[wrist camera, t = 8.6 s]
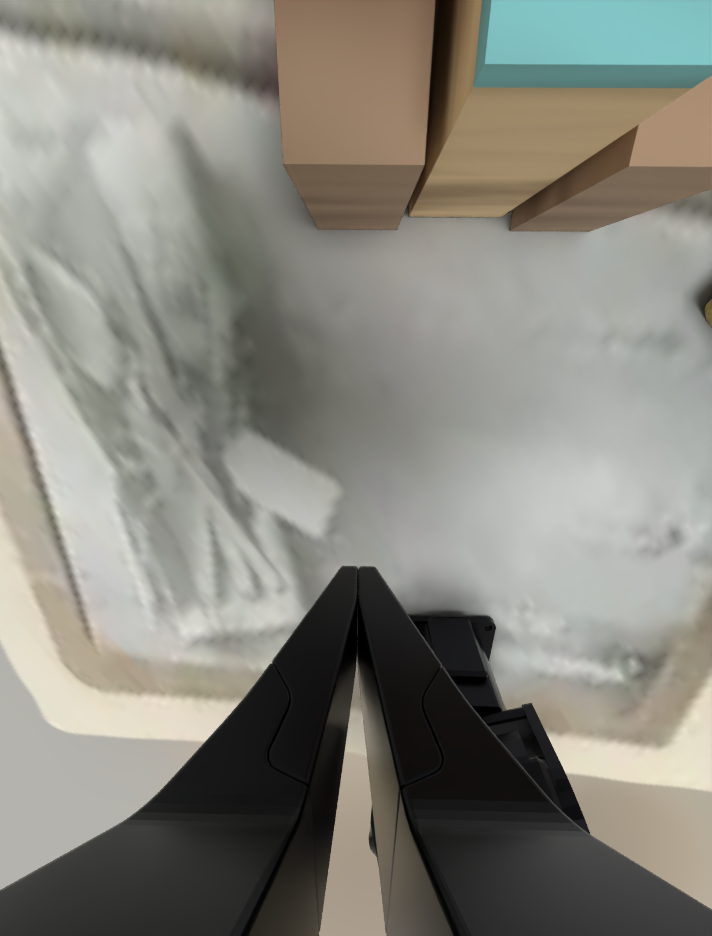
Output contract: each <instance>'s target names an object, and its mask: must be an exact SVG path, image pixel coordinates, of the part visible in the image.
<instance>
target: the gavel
mask: <svg viewBox="0 0 712 936" xmlns="http://www.w3.org/2000/svg"><path fill="white" fill-rule="evenodd" d="M704 311H705V317H706V321H707V322H708V324H709V325H710V326H711V327H712V299H711V300H710V301H709V302H708V303H707V304H706V307H705V309H704Z"/></svg>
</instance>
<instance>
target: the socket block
mask: <svg viewBox="0 0 712 936" xmlns="http://www.w3.org/2000/svg"><path fill="white" fill-rule="evenodd" d="M274 8H275V26H276V45H277V63H278V82H279V100H280V119H281V137H282V156H283V165H284V167H285V169H286V171H287V172H288V174H289V176H290V178H291V180H292V182H293V184H294V185H295V187H296V189H297V191H298V193H299V195H300V196H301V198H302V200H303V202H304V204H305V206H306V208H307V209H308V211H309V213H310V215H311V217H312V219H313V220H314V222H315V224H316V226H317V228H318V229H343V230H397V228H398V226H399V224H400V221H401V219H402V217H403V214H404V212H405V210H406V207H407V205H408V203H409V200H410V198H411V195H412V193H413V191H414V188H415V186H416V184H417V181H418V179H419V177H420V174H421V172H422V170H423V167H424V165H425V150H426V135H427V120H428V105H429V90H430V75H431V60H432V44H433V29H434V14H435V0H274ZM709 189H712V75H711V76H710V77H708V78H707V79H705V80H704V81H702V82H701V83H699V84H698V85H696V86H695V87H693V88H692V89H690V90H689V91H687V92H686V93H685V94H683V95H682V96H680V97H679V98H677V99H676V100H674V101H673V102H671V103H670V104H668V105H667V106H665V107H664V108H662V109H661V110H659V111H658V112H656V113H655V114H653V115H652V116H650V117H649V118H647V119H646V120H644V121H643V122H641V123H640V124H639V125H637V126H636V127H634V128H633V129H631V130H630V131H628V132H627V133H625V134H624V135H622V136H621V137H619V138H618V139H616V140H615V141H613V142H612V143H610V144H609V145H607V146H606V147H604V148H603V149H601V150H600V151H598V152H597V153H595V154H594V155H593V156H591V157H590V158H588V159H587V160H585V161H584V162H582V163H581V164H579V165H578V166H576V167H575V168H573V169H572V170H570V171H569V172H567V173H566V174H564V175H563V176H561V177H560V178H558V179H557V180H555V181H554V182H552V183H551V184H549V185H548V186H547V187H545V188H544V189H542V190H541V191H539V192H538V193H536V194H535V195H533V196H532V197H530V198H529V199H527V200H526V201H524V202H523V203H521V204H520V205H518V206H517V207H515V208H514V209H513V211H512V218H511V225H510V231H584V232H589V231H592V230H595V229H598V228H601V227H603V226H606V225H609V224H612V223H615V222H618V221H621V220H623V219H626V218H629V217H632V216H635V215H638V214H641V213H643V212H646V211H649V210H652V209H655V208H658V207H661V206H664V205H666V204H669V203H672V202H675V201H678V200H681V199H684V198H686V197H689V196H692V195H695V194H698V193H701V192H704V191H707V190H709Z"/></svg>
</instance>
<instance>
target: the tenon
mask: <svg viewBox="0 0 712 936" xmlns="http://www.w3.org/2000/svg"><path fill="white" fill-rule="evenodd" d="M711 75H712V0H435V14H434V29H433V44H432V60H431V75H430V90H429V105H428V120H427V135H426V150H425V165H424V167H423V170H422V172H421V174H420V177H419V179H418V181H417V184H416V186H415V188H414V191H413V193H412V195H411V198H410V208H409V217H502V216H504V215H505V214H506V213H508V212H509V211H511V210H512V209H514V208H515V207H517V206H518V205H520V204H521V203H523V202H524V201H526V200H527V199H529V198H530V197H532V196H533V195H535V194H536V193H538V192H539V191H541V190H542V189H544V188H545V187H547V186H548V185H549V184H551V183H552V182H554V181H555V180H557V179H558V178H560V177H561V176H563V175H564V174H566V173H567V172H569V171H570V170H572V169H573V168H575V167H576V166H578V165H579V164H581V163H582V162H584V161H585V160H587V159H588V158H590V157H591V156H593V155H594V154H595V153H597V152H598V151H600V150H601V149H603V148H604V147H606V146H607V145H609V144H610V143H612V142H613V141H615V140H616V139H618V138H619V137H621V136H622V135H624V134H625V133H627V132H628V131H630V130H631V129H633V128H634V127H636V126H637V125H639V124H640V123H641V122H643V121H644V120H646V119H647V118H649V117H650V116H652V115H653V114H655V113H656V112H658V111H659V110H661V109H662V108H664V107H665V106H667V105H668V104H670V103H671V102H673V101H674V100H676V99H677V98H679V97H680V96H682V95H683V94H685V93H686V92H687V91H689V90H690V89H692V88H693V87H695V86H696V85H698V84H699V83H701V82H702V81H704V80H705V79H707V78H708V77H710V76H711Z"/></svg>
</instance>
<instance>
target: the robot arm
mask: <svg viewBox="0 0 712 936" xmlns="http://www.w3.org/2000/svg"><path fill="white" fill-rule="evenodd" d="M357 620H358V632H357ZM487 625H488V626H487ZM495 629H496V626H495V623H494V621H493V620H492V619H491V618H477V617H425V616H408V614H407V613H406V611H405V610H404V608H403V607H402V605H401V604H400V602H399V601H398V599H397V598H396V597H395V595H394V594H393V592H392V591H391V589H390V588H389V586H388V585H387V583H386V582H385V580H384V579H383V577H382V576H381V574H380V573H379V572H378V570H377V569H376V568H375V567H373V566H360V567H359V569H358V567H356V566H342V567H341V568H340V569H339V570H338V572H337V573H336V574H335V576H334V577H333V579H332V580H331V581H330V583H329V584H328V585H327V587H326V588H325V589H324V591H323V592H322V594H321V595H320V596H319V598H318V599H317V600H316V602H315V603H314V605H313V606H312V607H311V609H310V610H309V611H308V613H307V614H306V615H305V617H304V618H303V620H302V621H301V622H300V624H299V625H298V626H297V628H296V629H295V631H294V632H293V633H292V635H291V636H290V637H289V639H288V640H287V642H286V643H285V644H284V646H283V647H282V648H281V650H280V651H279V652H278V654H277V655H276V657H275V658H274V659H273V661H272V663H271V664H270V665H269V666H268V667H267V669H266V670H265V671H264V673H263V674H262V676H261V677H260V678H259V680H258V681H257V682H256V683H255V685H254V686H253V687H252V689H251V690H250V691H249V692H248V694H247V695H246V696H245V698H244V699H243V700H242V701H241V702H240V703H239V705H238V706H237V707H236V708H235V709H234V710H233V711H232V713H231V714H230V715H229V716H228V717H227V718H226V719H225V721H224V722H223V723H222V724H221V725H220V726H219V727H218V728H217V729H216V730H215V732H214V733H213V734H212V735H211V736H210V737H209V738H208V739H207V740H206V741H205V743H204V744H203V745H202V746H201V747H200V748H199V749H198V750H197V751H196V752H195V753H194V755H193V756H192V757H191V758H190V759H189V760H188V761H187V762H186V763H185V764H184V766H183V767H182V768H181V769H180V770H179V771H178V772H177V773H176V774H175V775H174V777H173V778H172V779H171V780H170V781H169V782H168V783H167V784H166V785H165V786H164V787H163V788H162V789H161V790H160V792H158V794H156V795H155V796H154V797H153V798H152V799H151V800H150V801H149V802H148V803H147V804H146V805H144V806H143V807H142V808H140V809H139V810H138V811H137V812H136V813H134V814H133V815H131V816H130V817H129V818H127V819H126V820H124V821H123V822H121V823H119V824H118V825H116V826H114V827H113V828H111V829H109V830H107V831H105V832H104V833H102V834H100V835H98V836H96V837H95V838H93V839H91V840H89V841H87V842H86V843H84V844H82V845H80V846H78V847H77V848H75V849H73V850H71V851H70V852H68V853H66V854H64V855H62V856H60V857H59V858H57V859H55V860H53V861H52V862H50V863H48V864H46V865H44V866H43V867H41V868H39V869H37V870H35V871H34V872H32V873H30V874H28V875H27V876H25V877H23V878H21V879H19V880H18V881H16V882H14V883H12V884H10V885H9V886H7V887H5V888H3V889H1V890H0V936H319V931H320V926H321V919H322V912H323V904H324V897H325V890H326V882H327V875H328V868H329V861H330V853H331V845H332V839H333V831H334V824H335V817H336V809H337V802H338V795H339V787H340V780H341V773H342V765H343V759H344V751H345V744H346V737H347V729H348V722H349V715H350V708H351V700H352V693H353V686H354V678H355V671H356V662H357V663H358V675H359V684H360V694H361V703H362V713H363V722H364V732H365V741H366V751H367V759H368V769H369V779H370V788H371V798H372V811H371V829H370V832H369V845H370V849H371V850H372V852H373V853H374V854H375V855H376V857H377V860H378V866H379V874H380V883H381V892H382V902H383V911H384V921H385V931H386V934H387V936H712V909H710V908H708V907H707V906H705V905H703V904H702V903H700V902H698V901H697V900H695V899H693V898H692V897H690V896H689V895H687V894H686V893H684V892H682V891H681V890H679V889H677V888H676V887H674V886H673V885H671V884H669V883H668V882H666V881H664V880H663V879H661V878H660V877H658V876H656V875H654V874H653V873H651V872H650V871H648V870H647V869H645V868H643V867H642V866H640V865H638V864H637V863H635V862H634V861H632V860H630V859H629V858H627V857H625V856H624V855H622V854H620V853H619V852H617V851H615V850H614V849H612V848H611V847H609V846H607V845H606V844H604V843H603V842H601V841H599V840H598V839H596V838H594V837H593V836H592V835H590V832H589V829H588V827H587V824H586V821H585V819H584V816H583V814H582V811H581V809H580V806H579V804H578V801H577V799H576V797H575V794H574V792H573V790H572V787H571V785H570V783H569V780H568V778H567V776H566V774H565V771H564V769H563V767H562V765H561V763H560V761H559V759H558V757H557V755H556V753H555V751H554V749H553V747H552V744H551V742H550V740H549V738H548V736H547V734H546V732H545V730H544V728H543V726H542V724H541V722H540V720H539V718H538V715H537V713H536V711H535V709H534V707H533V705H532V703H528V704H524V705H522V707H519V708H515V709H510V710H506V709H505V706H504V703H503V701H502V698H501V695H500V692H499V690H498V687H497V684H496V681H495V678H494V676H493V673H492V670H491V667H490V665H489V658H490V653H491V649H492V644H493V639H494V634H495Z"/></svg>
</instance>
